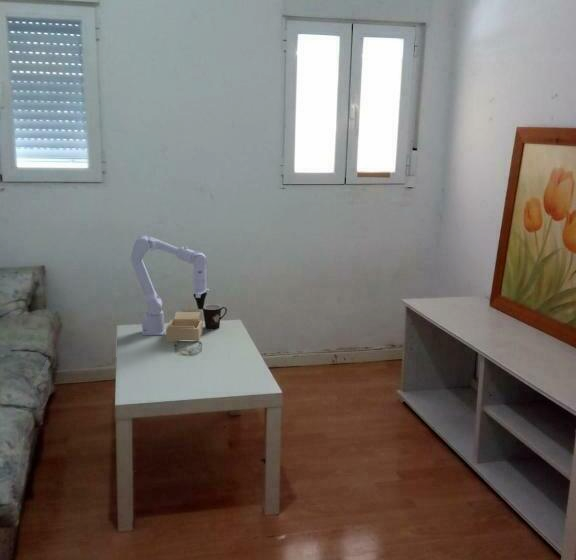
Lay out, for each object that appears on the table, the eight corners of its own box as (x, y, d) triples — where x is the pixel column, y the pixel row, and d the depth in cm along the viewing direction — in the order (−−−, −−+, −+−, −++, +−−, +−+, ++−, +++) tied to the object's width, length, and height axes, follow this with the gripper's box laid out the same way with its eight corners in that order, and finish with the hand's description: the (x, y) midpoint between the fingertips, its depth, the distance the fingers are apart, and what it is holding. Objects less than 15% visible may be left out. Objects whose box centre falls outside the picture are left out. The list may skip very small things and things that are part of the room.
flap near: (167, 325, 270) (167, 326, 270) (193, 326, 270) (193, 326, 270) (169, 327, 275) (169, 328, 274) (195, 327, 274) (194, 328, 274)
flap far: (200, 312, 289) (200, 312, 289) (175, 311, 289) (175, 312, 289) (198, 319, 285) (198, 320, 286) (174, 319, 286) (174, 319, 286)
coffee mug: (204, 331, 290) (203, 310, 287) (202, 325, 298) (201, 304, 295) (229, 329, 292) (229, 308, 290) (226, 323, 301) (226, 303, 298)
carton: (166, 341, 276) (166, 328, 274) (171, 332, 287) (171, 319, 286) (198, 342, 276) (198, 328, 274) (202, 332, 287) (202, 320, 286)
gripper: (206, 284, 277) (207, 313, 281) (210, 276, 291) (211, 304, 295) (190, 283, 277) (191, 313, 281) (195, 275, 291) (196, 304, 295)
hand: (200, 308), depth 288 cm, fingers closed
